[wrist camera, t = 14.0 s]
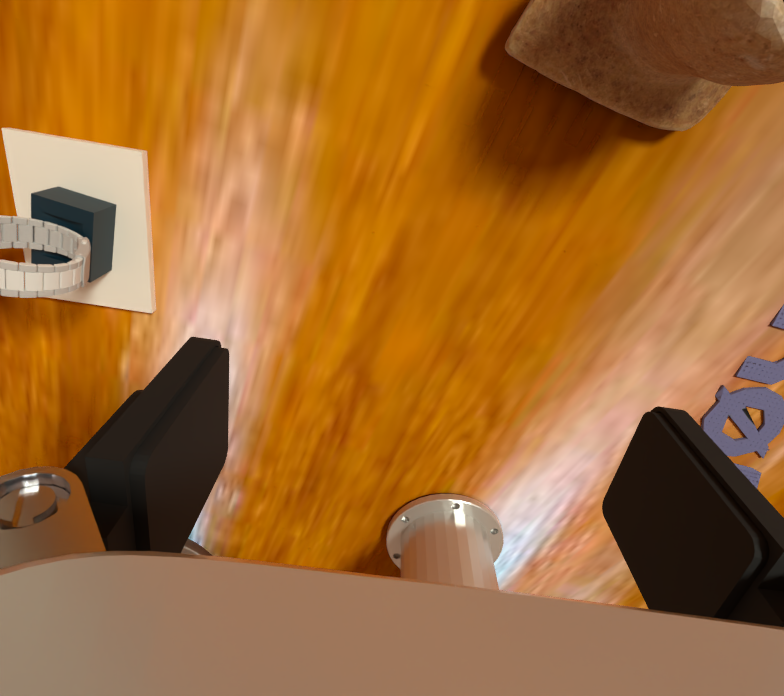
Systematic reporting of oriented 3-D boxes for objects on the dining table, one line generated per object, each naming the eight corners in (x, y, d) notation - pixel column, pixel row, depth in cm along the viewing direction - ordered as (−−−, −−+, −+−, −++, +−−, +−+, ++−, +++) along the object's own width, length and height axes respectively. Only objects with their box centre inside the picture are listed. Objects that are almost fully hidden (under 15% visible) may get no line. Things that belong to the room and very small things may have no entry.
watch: (31, 177, 37) (-102, 205, 27) (139, 212, 38) (49, 250, 28) (31, 247, 40) (-90, 296, 30) (133, 277, 41) (48, 334, 31)
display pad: (156, 309, 43) (152, 313, 42) (37, 291, 42) (31, 295, 42) (146, 150, 37) (141, 151, 36) (9, 127, 36) (1, 128, 36)
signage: (837, 224, 38) (945, 259, 39) (830, 222, 39) (937, 257, 40) (652, 491, 51) (738, 512, 52) (649, 486, 51) (734, 507, 52)
